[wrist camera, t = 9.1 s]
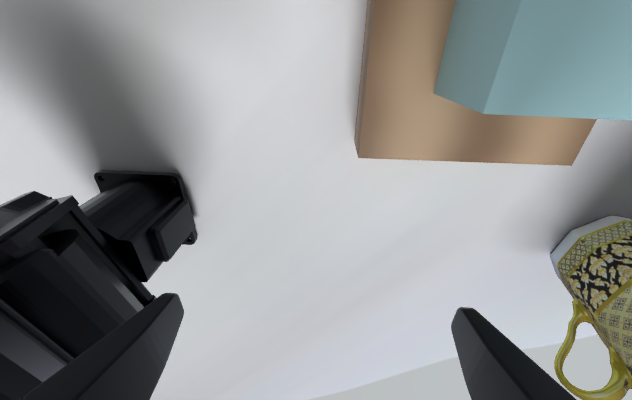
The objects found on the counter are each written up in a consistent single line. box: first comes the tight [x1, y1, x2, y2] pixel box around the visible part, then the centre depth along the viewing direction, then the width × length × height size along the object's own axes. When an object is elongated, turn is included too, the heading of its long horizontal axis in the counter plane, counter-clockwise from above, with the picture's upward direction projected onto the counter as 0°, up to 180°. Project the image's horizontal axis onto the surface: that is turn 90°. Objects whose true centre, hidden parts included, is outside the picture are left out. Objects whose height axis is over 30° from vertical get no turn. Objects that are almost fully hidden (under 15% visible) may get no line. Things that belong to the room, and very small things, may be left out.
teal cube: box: [433, 0, 632, 121], centre depth 10 cm, size 5×5×5 cm
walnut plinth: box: [355, 0, 597, 166], centre depth 13 cm, size 12×12×3 cm
